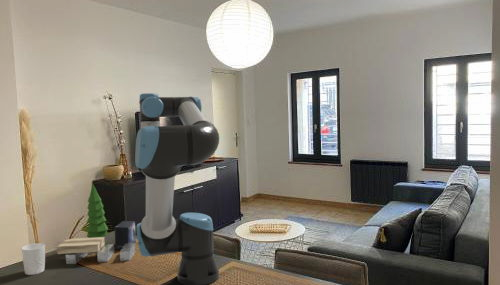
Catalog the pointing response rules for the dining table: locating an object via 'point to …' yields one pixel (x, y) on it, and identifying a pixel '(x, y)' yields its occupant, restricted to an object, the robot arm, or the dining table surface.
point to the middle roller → (105, 253)
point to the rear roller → (127, 252)
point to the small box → (124, 234)
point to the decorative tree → (96, 216)
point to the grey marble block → (74, 257)
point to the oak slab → (81, 245)
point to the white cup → (34, 258)
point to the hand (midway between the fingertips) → (153, 190)
